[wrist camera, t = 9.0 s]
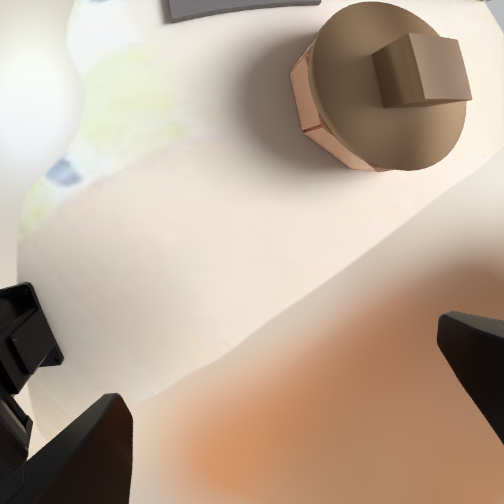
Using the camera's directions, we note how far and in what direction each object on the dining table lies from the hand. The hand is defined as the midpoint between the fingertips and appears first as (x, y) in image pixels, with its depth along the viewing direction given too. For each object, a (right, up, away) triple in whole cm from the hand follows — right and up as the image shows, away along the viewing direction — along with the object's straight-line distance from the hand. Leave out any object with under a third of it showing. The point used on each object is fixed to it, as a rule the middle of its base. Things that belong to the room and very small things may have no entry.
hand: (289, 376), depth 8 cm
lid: (+6, +12, +6) cm, 15 cm away
